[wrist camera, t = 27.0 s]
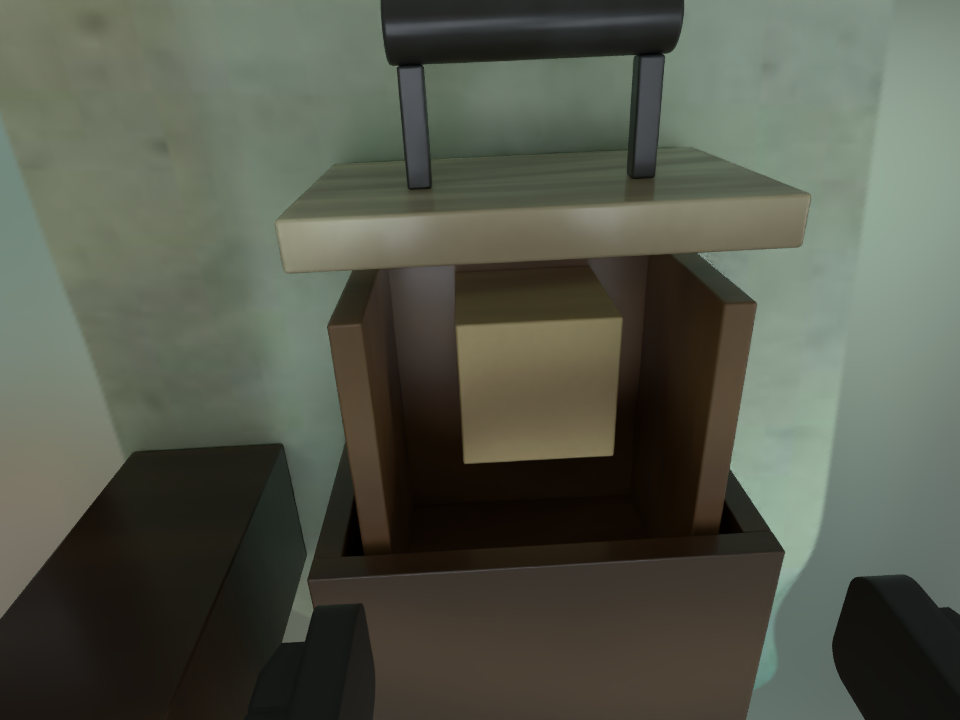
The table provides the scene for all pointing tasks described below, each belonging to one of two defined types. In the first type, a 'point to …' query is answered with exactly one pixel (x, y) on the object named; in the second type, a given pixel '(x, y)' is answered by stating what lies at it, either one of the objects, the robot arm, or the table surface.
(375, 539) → the drawer
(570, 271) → the block
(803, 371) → the table surface
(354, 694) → the robot arm
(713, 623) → the cabinet
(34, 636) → the post
